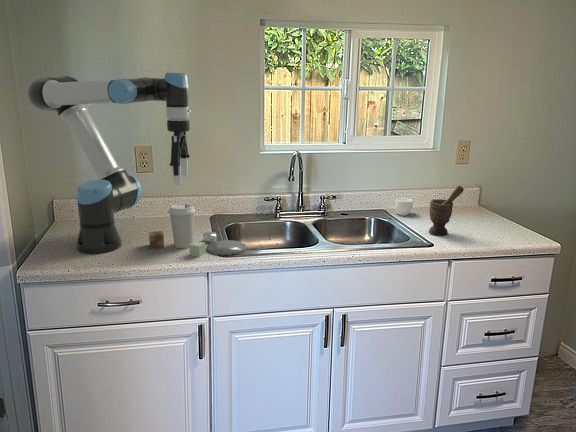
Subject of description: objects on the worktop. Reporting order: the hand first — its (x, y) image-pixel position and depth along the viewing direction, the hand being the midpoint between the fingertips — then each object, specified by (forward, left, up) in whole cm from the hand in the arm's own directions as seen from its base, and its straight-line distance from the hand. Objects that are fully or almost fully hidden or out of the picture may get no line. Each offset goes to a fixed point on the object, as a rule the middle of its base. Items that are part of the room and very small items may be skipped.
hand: (180, 180), depth 187 cm
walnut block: (-10, -1, -24) cm, 26 cm away
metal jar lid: (+9, +5, -25) cm, 27 cm away
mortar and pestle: (+100, +17, -25) cm, 104 cm away
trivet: (+16, -3, -24) cm, 29 cm away
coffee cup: (0, 0, -25) cm, 25 cm away
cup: (+90, +45, -25) cm, 103 cm away
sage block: (+7, -9, -24) cm, 27 cm away
